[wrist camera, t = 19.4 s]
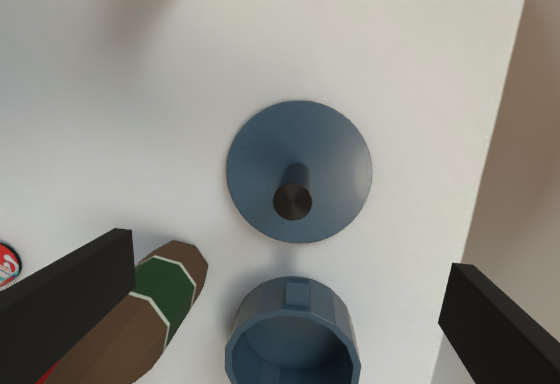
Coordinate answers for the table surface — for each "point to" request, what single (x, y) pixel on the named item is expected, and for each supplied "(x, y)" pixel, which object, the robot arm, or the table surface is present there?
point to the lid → (299, 172)
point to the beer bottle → (138, 321)
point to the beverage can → (8, 264)
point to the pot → (292, 336)
